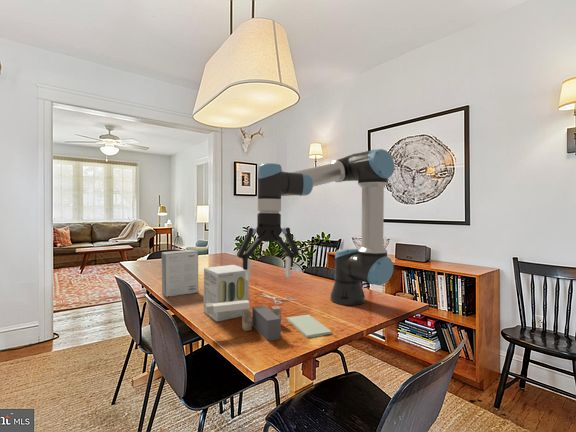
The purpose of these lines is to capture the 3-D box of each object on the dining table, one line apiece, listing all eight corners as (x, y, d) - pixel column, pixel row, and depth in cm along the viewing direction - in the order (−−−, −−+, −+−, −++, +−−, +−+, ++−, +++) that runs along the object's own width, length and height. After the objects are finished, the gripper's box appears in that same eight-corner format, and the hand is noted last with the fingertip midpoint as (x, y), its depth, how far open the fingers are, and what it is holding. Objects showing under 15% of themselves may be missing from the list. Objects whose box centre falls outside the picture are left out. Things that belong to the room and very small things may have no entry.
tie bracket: (277, 322, 109) (278, 305, 108) (280, 325, 106) (281, 308, 106) (242, 327, 104) (242, 310, 104) (244, 330, 101) (244, 312, 101)
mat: (308, 316, 115) (308, 314, 115) (331, 333, 99) (331, 331, 99) (286, 319, 111) (286, 317, 111) (306, 337, 96) (306, 335, 96)
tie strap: (247, 306, 104) (247, 299, 104) (249, 309, 101) (250, 302, 101) (205, 310, 99) (205, 303, 99) (206, 314, 96) (206, 306, 96)
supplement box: (216, 322, 108) (216, 273, 108) (203, 312, 119) (203, 267, 119) (249, 315, 116) (249, 269, 116) (234, 305, 127) (234, 264, 126)
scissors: (281, 304, 128) (249, 295, 141) (281, 306, 128) (249, 296, 141) (297, 299, 136) (266, 290, 149) (297, 301, 136) (266, 292, 149)
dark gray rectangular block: (264, 323, 108) (264, 305, 108) (280, 339, 95) (280, 318, 95) (252, 325, 106) (252, 307, 106) (267, 341, 93) (267, 320, 93)
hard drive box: (194, 289, 153) (194, 249, 152) (198, 292, 146) (198, 251, 146) (161, 293, 144) (161, 251, 144) (164, 297, 138) (164, 253, 137)
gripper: (299, 212, 106) (298, 273, 106) (228, 211, 96) (227, 278, 97) (309, 213, 99) (308, 278, 99) (233, 212, 89) (232, 284, 90)
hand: (268, 278), depth 98 cm, fingers open, 13 cm apart
